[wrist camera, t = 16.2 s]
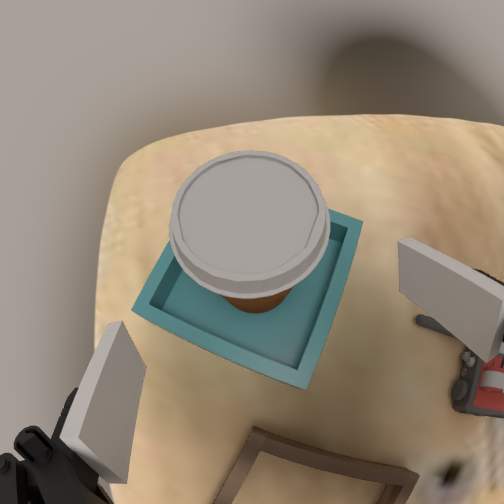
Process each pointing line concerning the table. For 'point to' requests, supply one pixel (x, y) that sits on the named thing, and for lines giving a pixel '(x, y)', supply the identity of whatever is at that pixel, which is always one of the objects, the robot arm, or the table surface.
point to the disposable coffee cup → (249, 227)
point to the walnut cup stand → (260, 440)
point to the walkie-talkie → (475, 379)
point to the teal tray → (262, 324)
